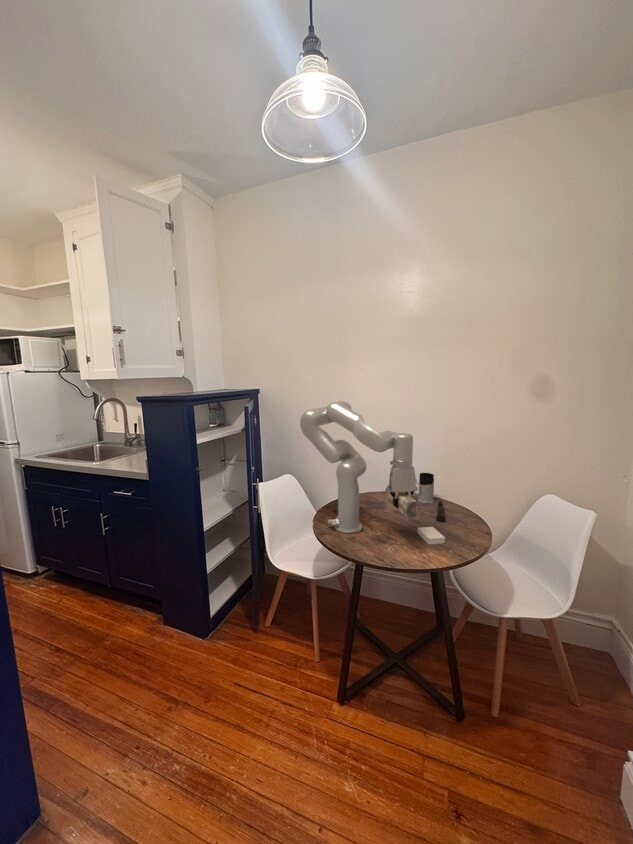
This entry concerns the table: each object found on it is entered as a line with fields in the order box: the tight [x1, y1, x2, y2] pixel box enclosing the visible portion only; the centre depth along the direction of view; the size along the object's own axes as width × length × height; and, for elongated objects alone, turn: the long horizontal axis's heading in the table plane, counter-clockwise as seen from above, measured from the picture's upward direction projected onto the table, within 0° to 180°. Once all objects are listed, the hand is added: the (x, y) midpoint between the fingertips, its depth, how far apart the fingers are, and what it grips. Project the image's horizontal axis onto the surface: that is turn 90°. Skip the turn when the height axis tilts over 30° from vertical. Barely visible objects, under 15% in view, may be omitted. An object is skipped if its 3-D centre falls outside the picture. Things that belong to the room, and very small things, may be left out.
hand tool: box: [435, 500, 446, 523], centre depth 160 cm, size 19×4×5 cm, turn 158°
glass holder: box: [413, 472, 435, 504], centre depth 178 cm, size 9×14×15 cm, turn 86°
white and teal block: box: [417, 526, 446, 545], centre depth 137 cm, size 7×3×10 cm
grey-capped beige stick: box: [387, 489, 418, 518], centre depth 133 cm, size 4×18×6 cm, turn 10°
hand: (401, 506), depth 133 cm, fingers closed on grey-capped beige stick, 4 cm apart
